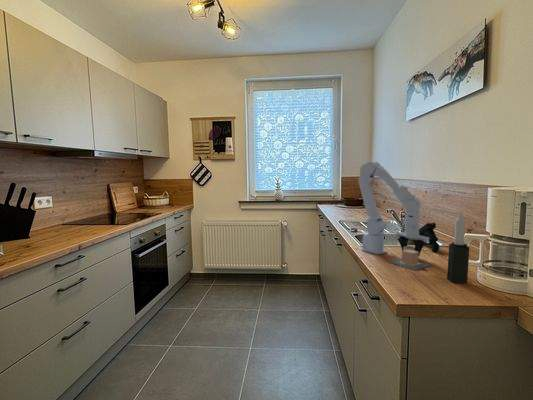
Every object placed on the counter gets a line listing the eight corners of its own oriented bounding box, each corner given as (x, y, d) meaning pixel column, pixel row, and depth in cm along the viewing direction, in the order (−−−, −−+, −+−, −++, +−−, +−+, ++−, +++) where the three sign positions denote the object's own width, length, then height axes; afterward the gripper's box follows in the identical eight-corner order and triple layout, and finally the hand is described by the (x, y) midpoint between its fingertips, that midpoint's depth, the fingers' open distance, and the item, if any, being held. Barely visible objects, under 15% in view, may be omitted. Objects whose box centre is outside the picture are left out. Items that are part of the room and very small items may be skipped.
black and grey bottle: (468, 284, 98) (472, 212, 95) (452, 283, 99) (456, 212, 96) (461, 278, 103) (465, 210, 100) (446, 277, 104) (449, 210, 101)
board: (389, 262, 122) (389, 261, 122) (404, 258, 128) (404, 257, 127) (416, 270, 112) (416, 269, 112) (431, 265, 117) (431, 264, 117)
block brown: (401, 262, 120) (402, 250, 120) (407, 260, 123) (408, 249, 122) (412, 265, 117) (412, 253, 116) (418, 263, 119) (418, 251, 118)
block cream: (403, 257, 129) (403, 246, 129) (408, 255, 132) (409, 245, 131) (412, 259, 125) (413, 248, 125) (418, 258, 128) (418, 247, 127)
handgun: (423, 259, 155) (419, 233, 161) (443, 250, 134) (437, 220, 140) (414, 259, 155) (410, 232, 161) (433, 250, 135) (427, 220, 140)
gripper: (433, 226, 123) (431, 257, 124) (402, 222, 135) (401, 249, 137) (424, 228, 119) (423, 259, 121) (393, 223, 132) (392, 251, 133)
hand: (410, 254), depth 128 cm, fingers open, 5 cm apart
